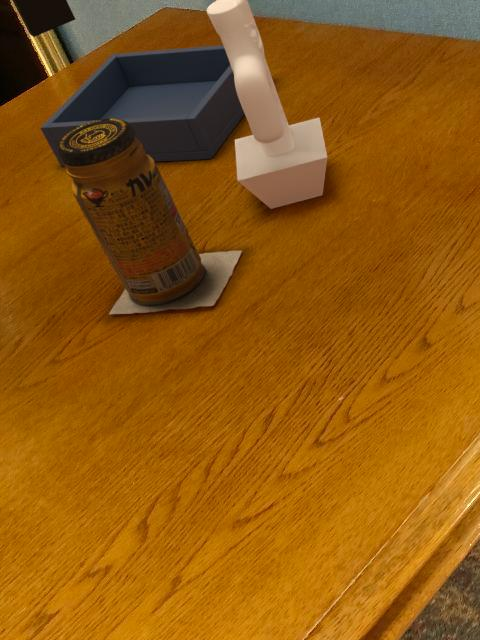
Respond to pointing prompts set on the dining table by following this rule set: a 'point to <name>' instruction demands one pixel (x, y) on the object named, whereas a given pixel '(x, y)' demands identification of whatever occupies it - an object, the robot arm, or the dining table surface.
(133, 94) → the bin
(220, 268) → the condiment
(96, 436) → the dining table surface
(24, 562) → the dining table surface
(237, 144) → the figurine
